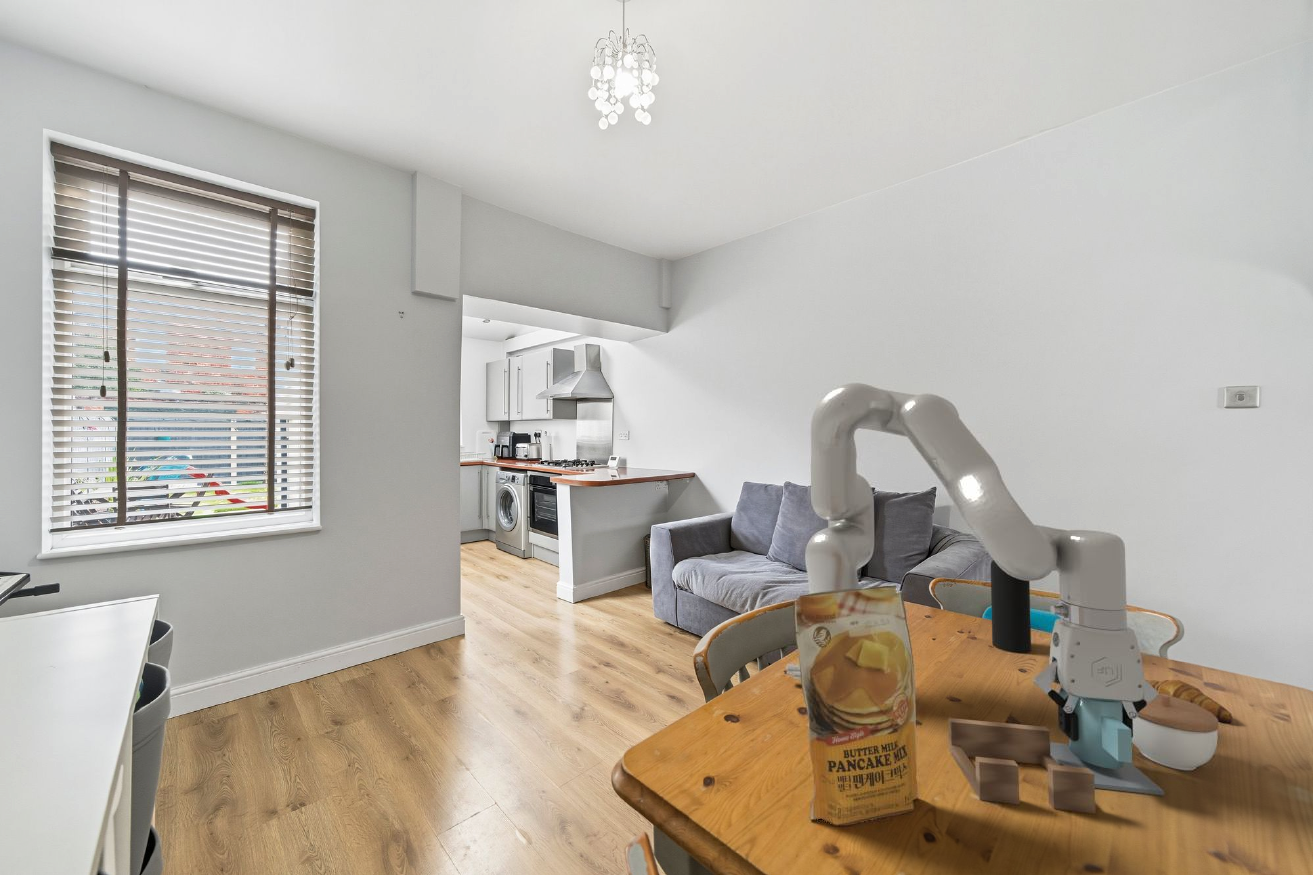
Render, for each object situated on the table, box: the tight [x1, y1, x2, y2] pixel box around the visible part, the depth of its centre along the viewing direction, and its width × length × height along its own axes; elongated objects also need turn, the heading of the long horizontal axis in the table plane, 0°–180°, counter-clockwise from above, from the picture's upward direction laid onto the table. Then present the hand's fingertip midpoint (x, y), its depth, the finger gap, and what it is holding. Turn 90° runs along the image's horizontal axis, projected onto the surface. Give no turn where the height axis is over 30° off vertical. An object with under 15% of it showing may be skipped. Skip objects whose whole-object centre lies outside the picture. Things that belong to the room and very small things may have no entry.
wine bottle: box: [990, 559, 1032, 654], centre depth 121 cm, size 8×8×30 cm
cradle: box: [947, 717, 1096, 814], centre depth 72 cm, size 13×11×5 cm
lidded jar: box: [1132, 693, 1219, 772], centre depth 77 cm, size 11×11×9 cm
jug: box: [1068, 698, 1133, 769], centre depth 73 cm, size 6×9×11 cm, turn 168°
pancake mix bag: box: [792, 585, 920, 827], centre depth 67 cm, size 7×19×28 cm, turn 104°
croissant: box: [1145, 679, 1233, 724], centre depth 92 cm, size 14×7×5 cm, turn 20°
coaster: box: [1050, 741, 1165, 797], centre depth 74 cm, size 10×10×1 cm
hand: (1095, 737), depth 75 cm, fingers closed on jug, 6 cm apart
